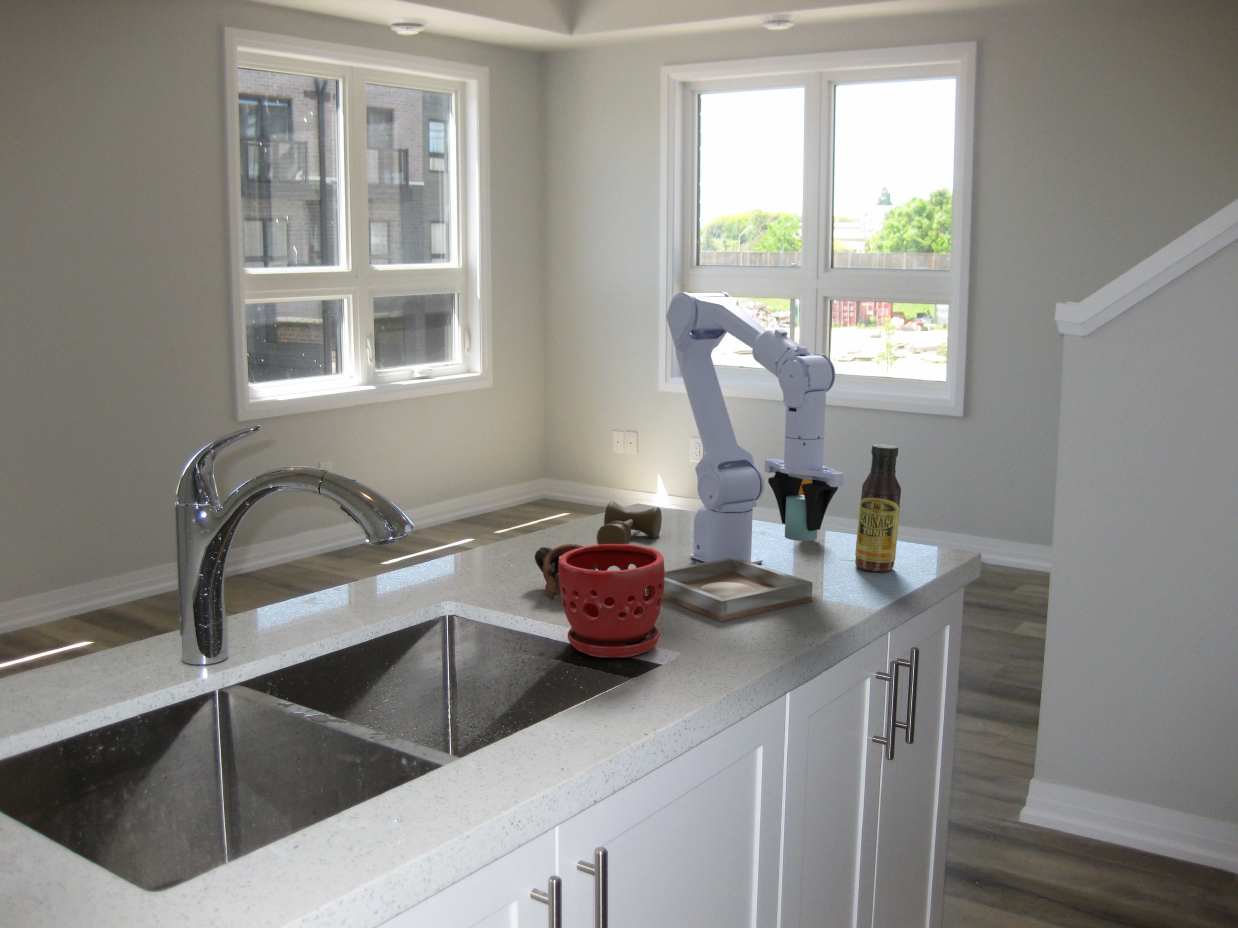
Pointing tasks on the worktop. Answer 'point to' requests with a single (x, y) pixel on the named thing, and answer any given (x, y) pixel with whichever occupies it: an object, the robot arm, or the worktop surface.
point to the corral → (733, 588)
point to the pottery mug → (553, 566)
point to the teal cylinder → (797, 520)
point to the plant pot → (612, 598)
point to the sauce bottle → (879, 512)
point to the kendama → (628, 524)
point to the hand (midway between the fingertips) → (800, 526)
